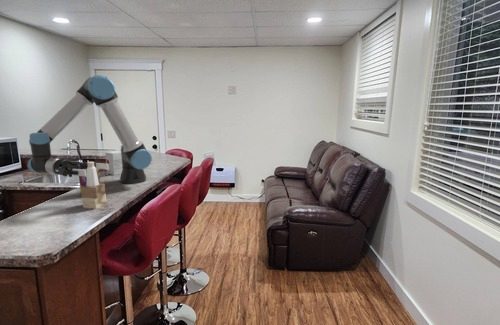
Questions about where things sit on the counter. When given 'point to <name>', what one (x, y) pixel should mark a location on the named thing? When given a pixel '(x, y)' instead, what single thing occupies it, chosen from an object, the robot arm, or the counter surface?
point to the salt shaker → (91, 175)
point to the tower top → (93, 191)
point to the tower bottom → (94, 202)
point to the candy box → (84, 179)
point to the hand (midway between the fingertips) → (97, 169)
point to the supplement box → (114, 162)
